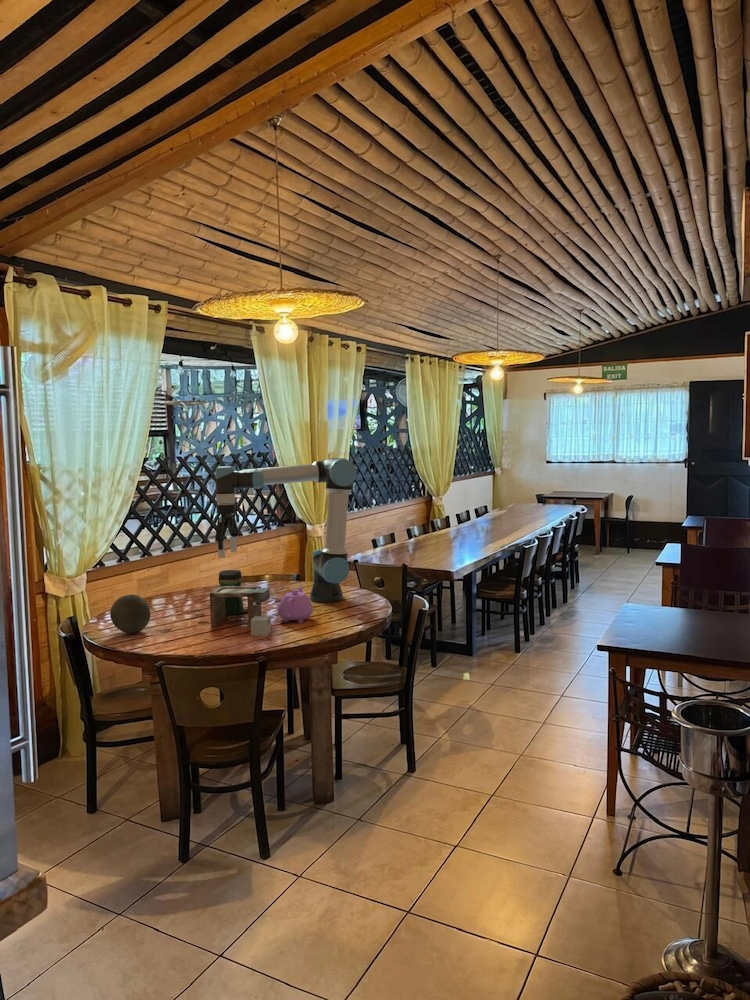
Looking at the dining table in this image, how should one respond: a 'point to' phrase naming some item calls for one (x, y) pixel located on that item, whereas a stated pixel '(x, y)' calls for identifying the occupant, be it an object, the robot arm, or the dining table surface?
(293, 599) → the pink rounded figure
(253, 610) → the hatch frame
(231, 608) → the coffee jar
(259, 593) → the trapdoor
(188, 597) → the dining table surface
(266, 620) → the grey cube
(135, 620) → the dark grey ball
